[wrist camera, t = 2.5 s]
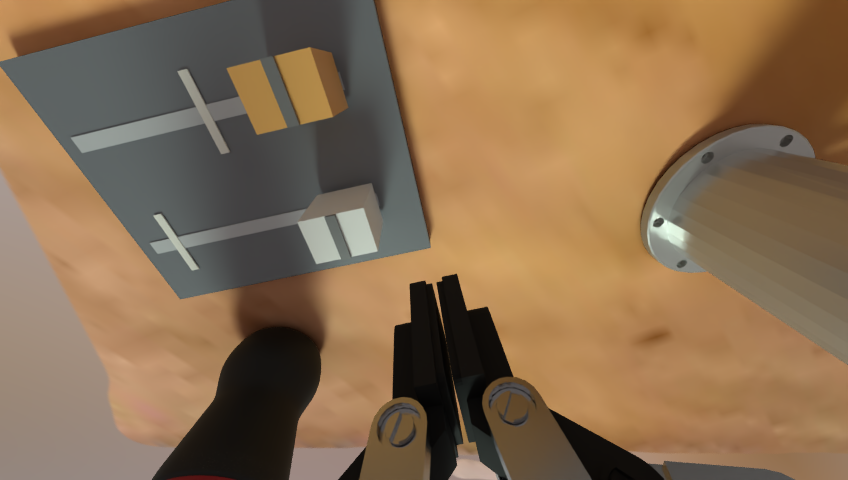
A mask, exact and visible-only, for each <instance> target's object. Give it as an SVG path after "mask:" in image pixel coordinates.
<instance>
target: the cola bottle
mask: <svg viewBox="0 0 848 480" xmlns="http://www.w3.org/2000/svg"><path fill="white" fill-rule="evenodd" d="M320 375H321V358H320V354H319V351H318V348H317V347H316V345H315V344H314V342H313V341H312V340H311V339H310V338H308V337H307V336H306V335H304V334H302V333H301V332H298V331H296V330H293V329H289V328H283V327H271V328H265V329H262V330H259V331H257V332H255V333H253V334H251V335H250V336H248V337H247V338H246V339H245V340H243V341H242V342H241V343H240V344H239V345H238V346H237V347H236V348H235V349H234V350H233V352H232V353H231V354H230V355H229V357H228V358H227V360H226V362H225V364H224V366H223V368H222V370H221V373H220V377H219V381H218V387H217V392H216V396H215V398H214V400H213V402H212V403H211V404H210V406H209V407H208V408H207V409H206V411H205V412H204V413H203V414H202V416H201V417H200V418H199V419H198V421H197V422H196V423H195V424H194V426H193V427H192V428H191V429H190V431H189V432H188V433H187V435H186V436H185V437H184V438H183V440H182V441H181V442H180V443H179V445H178V446H177V447H176V448H175V450H174V451H173V452H172V453H171V455H170V456H169V457H168V458H167V460H166V461H165V462H164V463H163V465H162V466H161V467H160V469H159V470H158V471H157V473H156V474H155V476H154V477H153V479H152V480H289V475H290V469H291V463H292V456H293V450H294V444H295V437H296V431H297V425H298V420H299V418H300V416H301V414H302V413H303V412H304V410H305V409H306V407H307V406H308V404H309V403H310V402H311V400H312V398H313V397H314V395H315V393H316V390H317V388H318V385H319V381H320Z"/></svg>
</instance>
